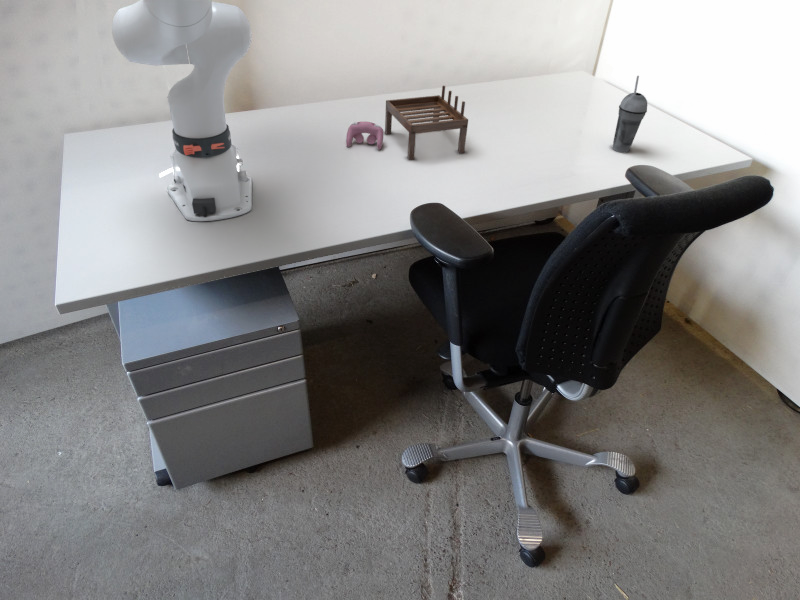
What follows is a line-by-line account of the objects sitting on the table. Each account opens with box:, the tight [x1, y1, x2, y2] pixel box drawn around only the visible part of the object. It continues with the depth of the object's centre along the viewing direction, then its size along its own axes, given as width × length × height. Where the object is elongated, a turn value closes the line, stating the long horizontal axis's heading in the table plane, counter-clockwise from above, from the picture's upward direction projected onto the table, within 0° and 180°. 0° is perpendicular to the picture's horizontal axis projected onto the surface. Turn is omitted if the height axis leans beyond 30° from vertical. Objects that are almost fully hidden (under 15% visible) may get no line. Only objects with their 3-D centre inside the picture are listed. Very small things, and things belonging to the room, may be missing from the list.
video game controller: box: [345, 121, 384, 150], centre depth 156 cm, size 10×5×7 cm, turn 84°
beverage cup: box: [611, 75, 648, 154], centre depth 157 cm, size 7×7×20 cm
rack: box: [384, 85, 469, 161], centre depth 157 cm, size 18×16×13 cm
